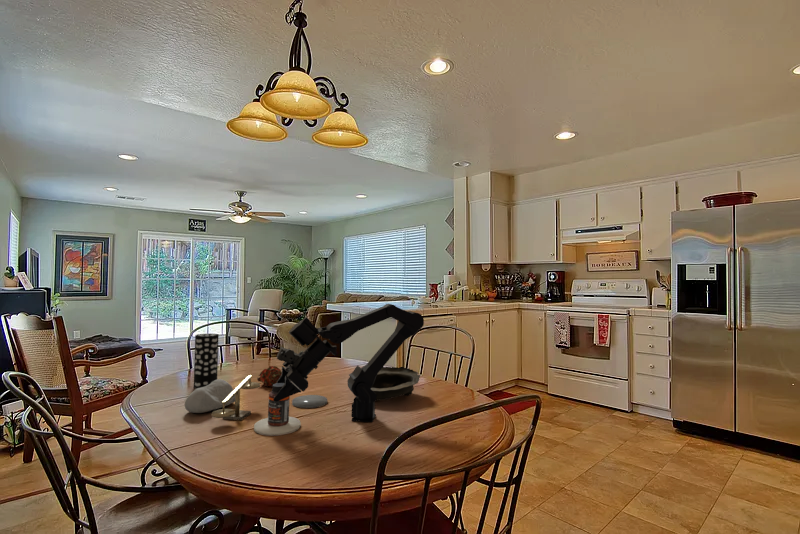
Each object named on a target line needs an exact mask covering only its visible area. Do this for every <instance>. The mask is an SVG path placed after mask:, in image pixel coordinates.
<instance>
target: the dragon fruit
mask: <svg viewBox="0 0 800 534" xmlns="http://www.w3.org/2000/svg"><path fill="white" fill-rule="evenodd" d="M281 374H282V369H280V368H279V367H278V366H277V365H276V366H275V365H269V366H268V367H267V368H264V369H262V370H261V372H260V373H259V374H258V377H257V382H258V383H260V382H261V383H263V386H264V387H267V388H268V387H271V388H273V384H276V382H277V381H278V379H279V378H280V376H281Z"/></svg>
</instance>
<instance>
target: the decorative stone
mask: <svg viewBox="0 0 800 534" xmlns="http://www.w3.org/2000/svg"><path fill="white" fill-rule="evenodd" d="M233 390H234V388H233V387H232V385H231V384H230V383H229V382H228V381H226V380H225V379H222V378H217V380H214V381H213V382H212V383H211V384H209V385H207V386H205V387H201V388H197V389H196V388H195V389H194V390H193V391H192V392H191V393H190V394H189V395H188V396H187V397H186V399H185V401H184V407H185V408H184V409H186V411H187V412H189V413H192V414H202V413H207V412H211V411H212V412H213V411H216V410H219V409H221V408H223V404H222V401H223V400H224V399H225V398H226V397H227V396H228V395H229V394H230V393H231V392H232V391H233ZM233 403H235V395H234V396H233V397H232V398H231V399H230V400H229V401H228V403H227V404H226V405H225V407H227V406H229V405H231V404H233Z"/></svg>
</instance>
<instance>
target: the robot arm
mask: <svg viewBox="0 0 800 534" xmlns="http://www.w3.org/2000/svg"><path fill="white" fill-rule="evenodd" d="M389 318H392V319H394V320H396V321H397V324H396V325H395V329H394V330H393V333H391V335H390V336H389V337H388V338H387V339H386V341H385V342H384V343H383V344H382V345H381V347H380V348H379V349H378V350H377V351H376V352H375V354H374V355H373V356H372V357H371V359H370V360H369V361H368V362H367V363H366V364H365V365H364V366H362V367H360V366H359V365H357V366H355V368H354V370H353V371H352V372H351V373H349V374H348V379H347V387H348V389H349V390H350V391H351V393H352V394H353V395H354V396H355V397H354V398H353V402H352V403H351V415H350V416H351V421H352V422H365V423H373V422H374V420H375V418H376V417H377V414H376V412H375V411H376V398H377V394H376V393H375V392H374V391H373V390H371V387H372V386H373V384H374V381H375V378H376V376H377V374H378V372H379V371H380V370H381V369H382V368H383V367H385V366H386V364H387V363H388V362H389V360H390V359H391V358H392V357H393V356H394V354H395V353H396V352H397V351H398V349H399V348H400V347H401V346H402V345H403V343H405V341H406V340H407V339H409V338H411V337H413V336H414V335H416V333H418V332H419V331H420V330H421V329H423V327H424V325H425V322H424V321H425V320H424V317H423V315H422V314H421V313H418V312H415V311H411V310H409V311H408V310H405V309H403V308H400V307H398V306H396V305H395V304H392V303H386V304H384V305H383V306H381V307H378V308H376V309H373V310H371V311H369V312H366V313H363V314H361V315H359V316H356V317H354V318H351V319H345V320H340V321H339V320H338V321H335V322H330V323H329V324H328V325H326V326H324V327H316V326H315V325H314V324H313V323H312V322H311V320H310V319H309V318H308V317H307V316H305V317H304V318H303V319H301V320H299V322H297V323H295V324H294V325H293V326H292V327H291V328H290V330H288V333H289V335H291V337H293V338H294V339H295V341H296V342H298V344H299V345H301V346H302V347H303V346H307V348H306V349H305V350H302V351H300V352H299V353H297V352H295V351H294V350H292V349H290V348H285V347H282V346H280V348H279V351H278V352H277V354H276V360H278V361H280V362H283V363H282V365H281V372H282V374H281V376H280V378H279V379H278V381H277V382H276V383H285V384H284V385H283V386H282V388H281V389H280V390H279V392H278V393H277V395H276V396H275V397H274V399H273V400H274V401H275V402H277V401H280V400H282V399H284V398H286V397H289V396H290V397H291V396H293V395H296V394H299V393H302V392H305V391H307V389H308V388H309V381H308V377H309V376H308V375H309V374H310V373H311V372H313V371H314V369H315V370H317V369H318V368H319V366H318V365H319V364H320V363H321V362H322V361H323V360H325V358H326V357H327V356H328V355H329V354H330V353H331V354H332V355H334V357H336V356H337V354H338V353H337V349H338V347H337V345H339V344H341V343H343V342H345V341H346V340H349V338H351V337H352V336H353V335H355V334H356V333H357V332H359V331H361V330H363V329H366V328H369V327H371V326H373V325H375V324H378V323H379V322H380V323H381V322H382V321H384V320H387V319H389ZM318 335H319V336H320V337H321V338H322V339H324V340H322V339H321V338H320V337H319V336H318ZM328 340H329V341H330V342H331V343H334V344H335V345H332V344H331V343H330V342H329V341H328ZM272 391H273V389H272V388H271V392H272Z"/></svg>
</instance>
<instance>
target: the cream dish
mask: <svg viewBox="0 0 800 534" xmlns="http://www.w3.org/2000/svg"><path fill="white" fill-rule="evenodd" d="M301 425H302V424H301V420H300V419H299V418H297V417H294V416H289V422H288V423H287V424H286V425H283V426H270V425H269V424H268V417H266V418H262V419H260V420H258V421H256V422H255V423H254V425H253V431H254V432H255V433H256V434H259V435H263V436H266V437H267V436H270V437H272V436H273V437H274V436H275V437H276V436H283V435H288V434H292V433H294V432H297V431H298V430H299V429H301Z"/></svg>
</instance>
